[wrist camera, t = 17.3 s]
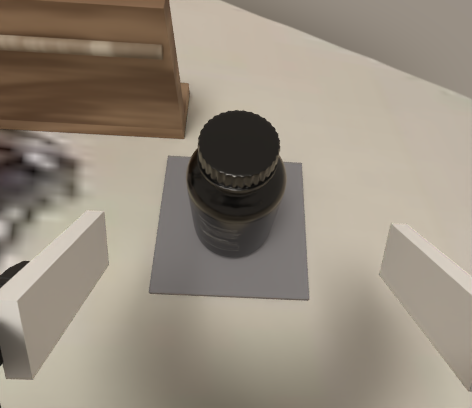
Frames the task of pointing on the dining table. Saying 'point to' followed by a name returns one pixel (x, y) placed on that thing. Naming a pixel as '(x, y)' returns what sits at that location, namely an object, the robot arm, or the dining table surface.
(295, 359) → the dining table surface
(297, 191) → the rubber mat
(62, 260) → the robot arm
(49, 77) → the board
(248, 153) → the supplement bottle
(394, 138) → the dining table surface
